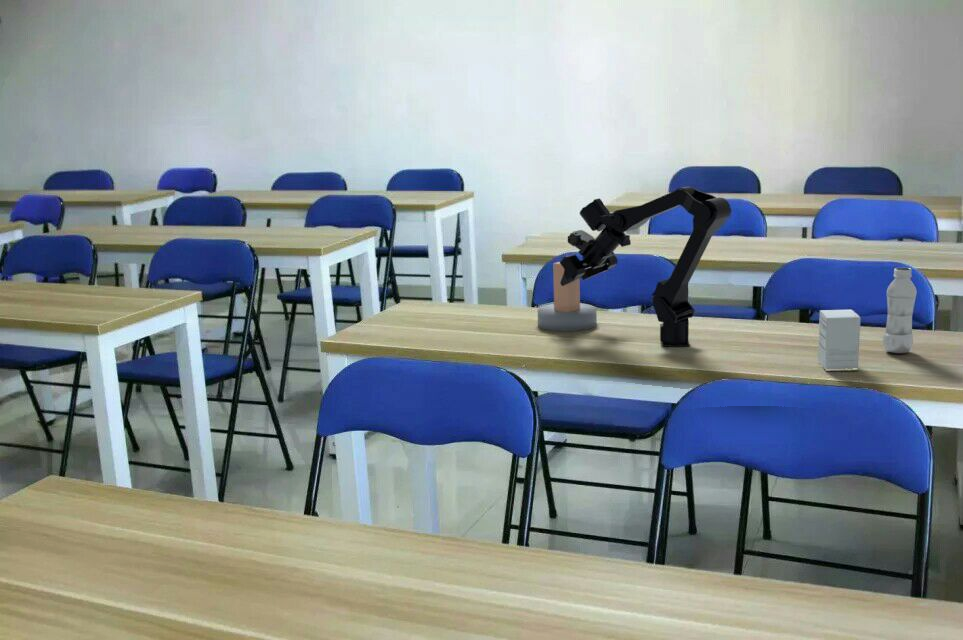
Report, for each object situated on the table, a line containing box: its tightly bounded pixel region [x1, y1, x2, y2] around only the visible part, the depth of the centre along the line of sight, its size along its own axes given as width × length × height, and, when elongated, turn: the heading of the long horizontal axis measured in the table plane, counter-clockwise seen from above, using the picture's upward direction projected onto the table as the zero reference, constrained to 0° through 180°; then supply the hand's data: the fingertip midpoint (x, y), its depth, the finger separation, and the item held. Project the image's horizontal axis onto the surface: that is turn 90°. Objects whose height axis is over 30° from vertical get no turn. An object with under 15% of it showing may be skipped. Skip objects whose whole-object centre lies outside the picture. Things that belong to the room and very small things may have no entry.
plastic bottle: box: [882, 267, 918, 354], centre depth 233 cm, size 6×7×20 cm
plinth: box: [537, 302, 598, 332], centre depth 273 cm, size 16×16×4 cm
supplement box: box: [817, 309, 862, 369], centre depth 225 cm, size 7×7×13 cm
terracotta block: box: [552, 261, 581, 313], centre depth 271 cm, size 5×5×13 cm
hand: (572, 281), depth 269 cm, fingers open, 9 cm apart
